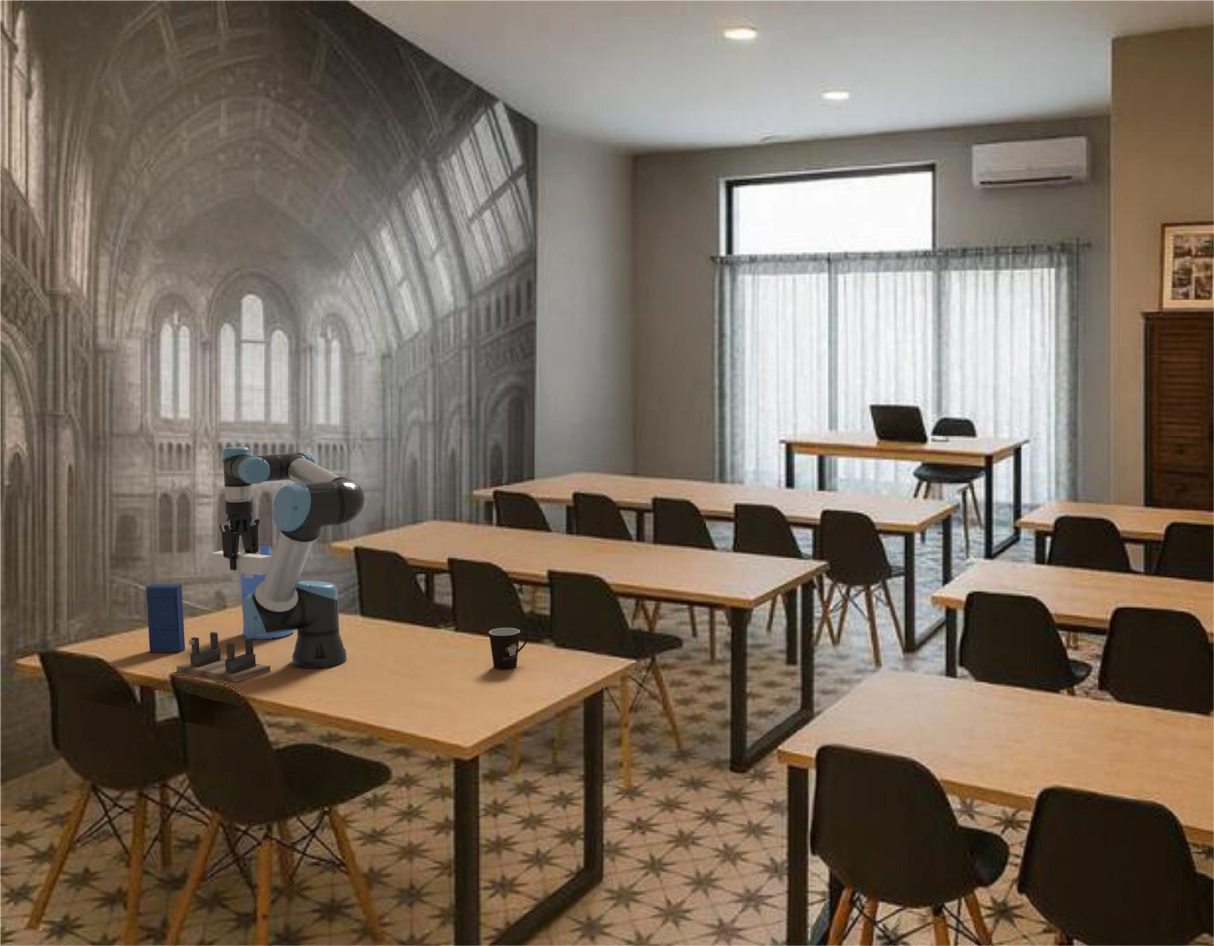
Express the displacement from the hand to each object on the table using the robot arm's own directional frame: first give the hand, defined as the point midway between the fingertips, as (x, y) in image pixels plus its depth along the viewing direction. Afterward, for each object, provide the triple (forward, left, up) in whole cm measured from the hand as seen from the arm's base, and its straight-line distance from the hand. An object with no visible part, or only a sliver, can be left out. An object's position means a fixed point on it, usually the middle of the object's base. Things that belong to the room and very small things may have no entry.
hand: (242, 579), depth 332 cm
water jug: (+13, -21, -23) cm, 34 cm away
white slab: (0, 0, +2) cm, 2 cm away
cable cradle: (-8, +16, -23) cm, 29 cm away
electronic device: (+25, +8, -23) cm, 35 cm away
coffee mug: (-77, -25, -23) cm, 84 cm away
